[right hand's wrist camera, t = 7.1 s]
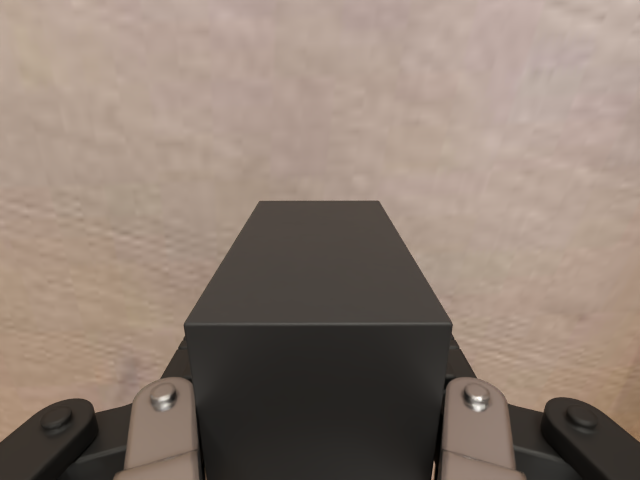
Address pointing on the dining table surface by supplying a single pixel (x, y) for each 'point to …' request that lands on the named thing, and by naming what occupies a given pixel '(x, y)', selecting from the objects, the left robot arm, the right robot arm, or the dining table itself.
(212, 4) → the dining table surface
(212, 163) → the dining table surface
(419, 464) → the bar
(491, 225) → the dining table surface
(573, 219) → the dining table surface
